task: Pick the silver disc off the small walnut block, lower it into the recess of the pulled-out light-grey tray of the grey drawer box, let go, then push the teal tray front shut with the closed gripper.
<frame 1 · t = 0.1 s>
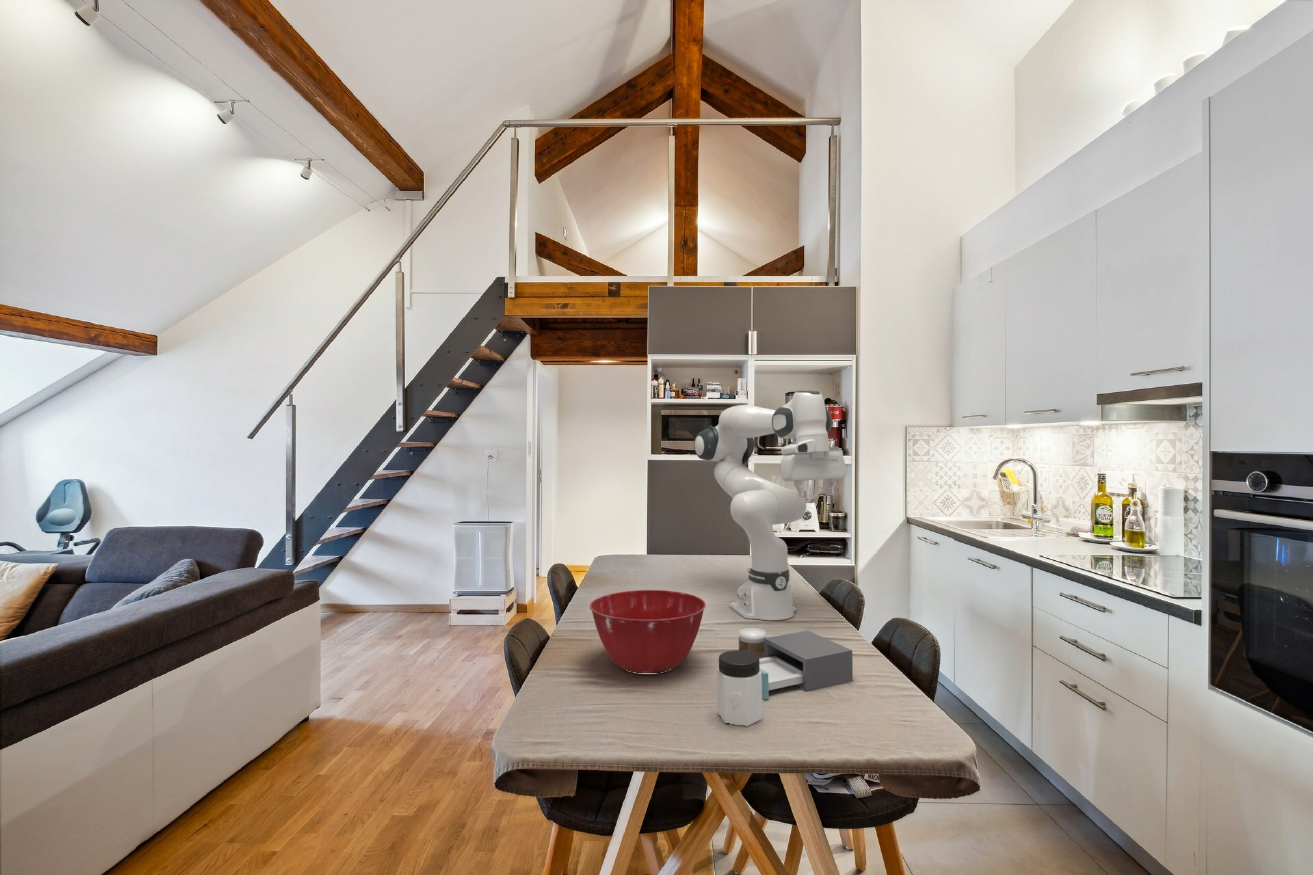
hand: (816, 496, 174), 39 cm above the table, tool pointing down, fingers open, 8 cm apart
mixing bowl: (649, 665, 154), on the table
disc: (752, 638, 157), point 5 cm above the table, touching walnut block
grey drawer box: (807, 673, 147), on the table
jar: (739, 717, 125), on the table
walnut block: (752, 658, 157), on the table
tray: (768, 669, 142), point 3 cm above the table, slide at 9.5 cm
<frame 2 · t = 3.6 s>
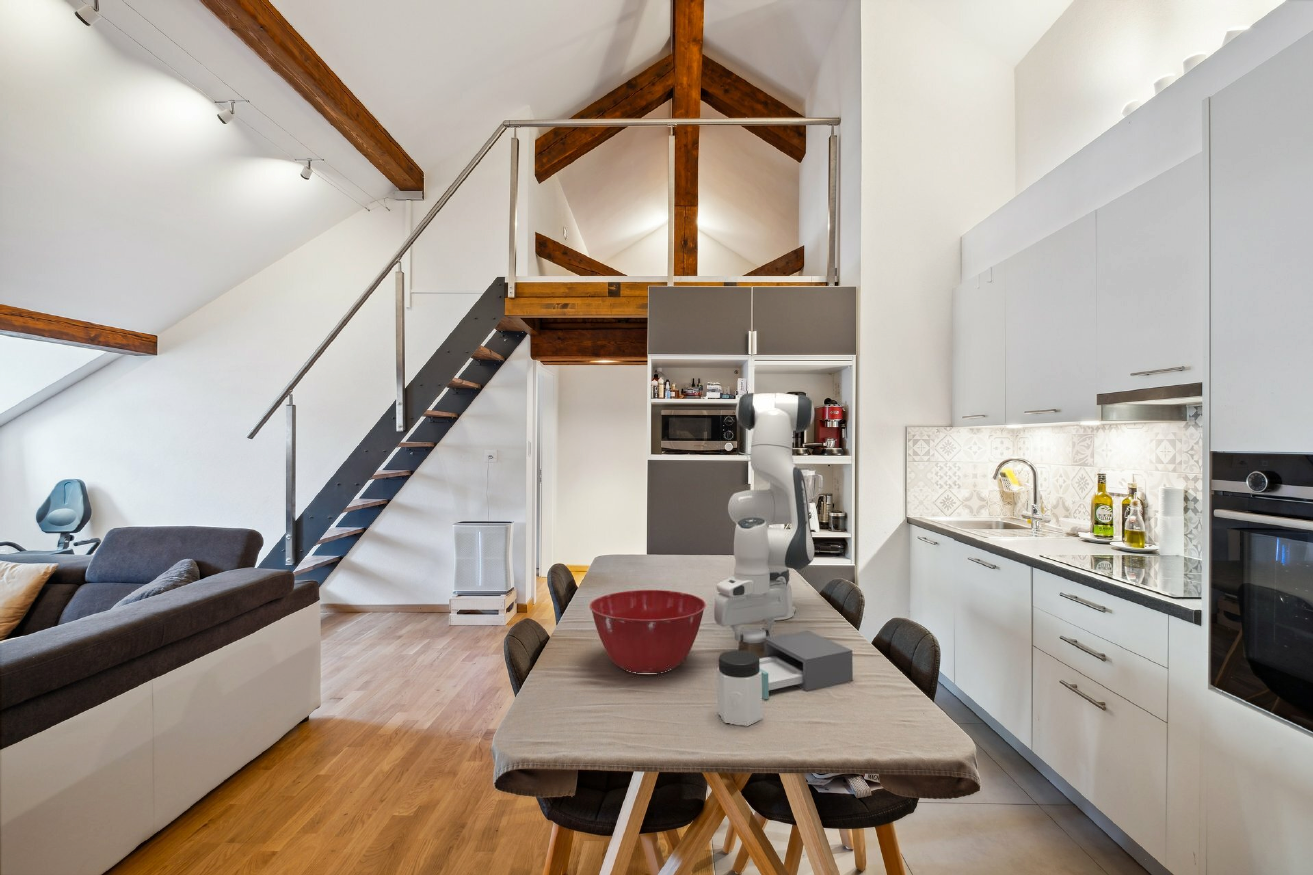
hand: (752, 638, 157), 5 cm above the table, tool pointing down, fingers closed on disc, 7 cm apart
disc: (752, 638, 157), point 5 cm above the table, touching gripper, walnut block
everything else where it was.
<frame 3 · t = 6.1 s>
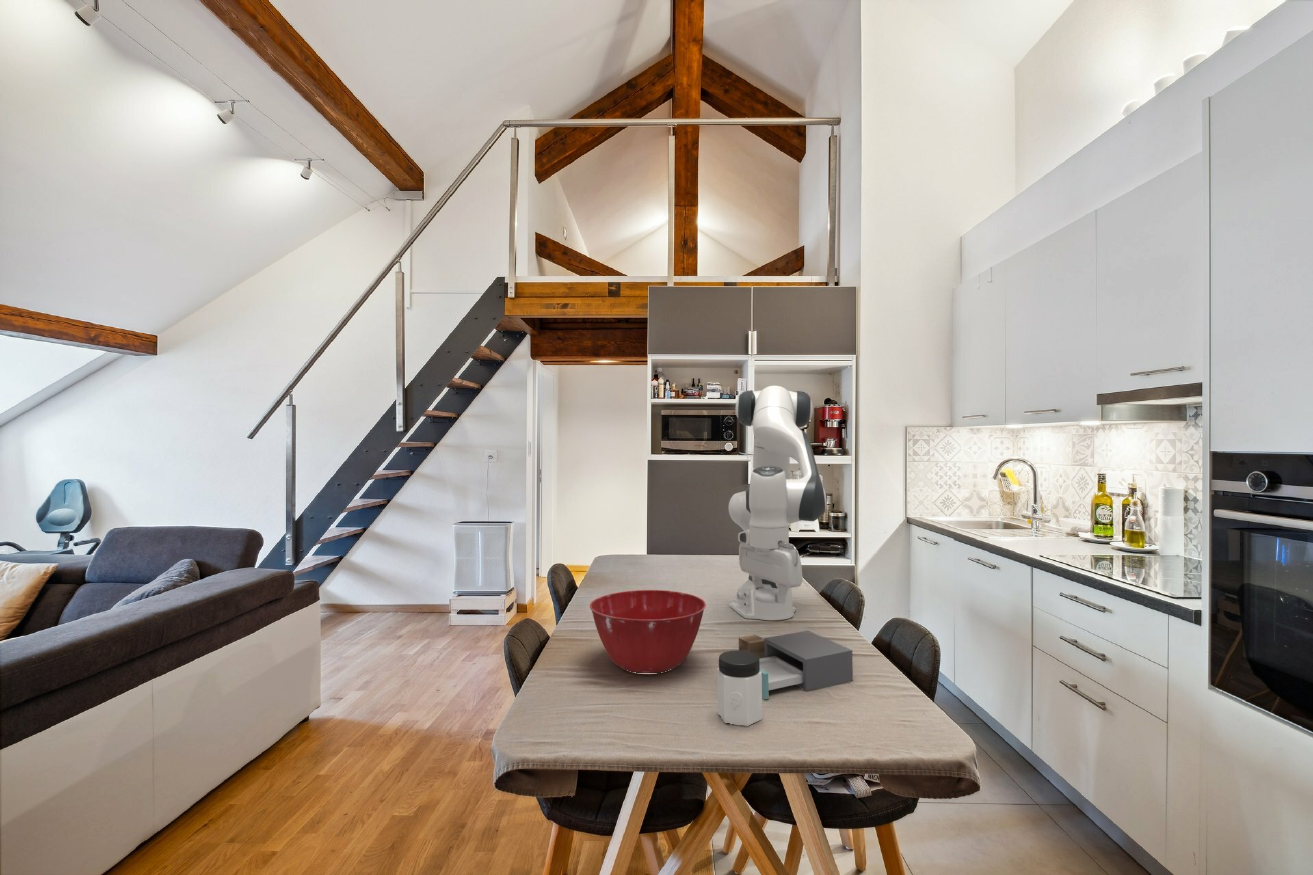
hand: (769, 598, 142), 19 cm above the table, tool pointing down, fingers closed on disc, 7 cm apart
disc: (769, 599, 142), point 19 cm above the table, touching gripper
everything else where it was.
when the fingers open (4 cm above the table, at t = 8.9 s): disc drops 2 cm, resting on tray.
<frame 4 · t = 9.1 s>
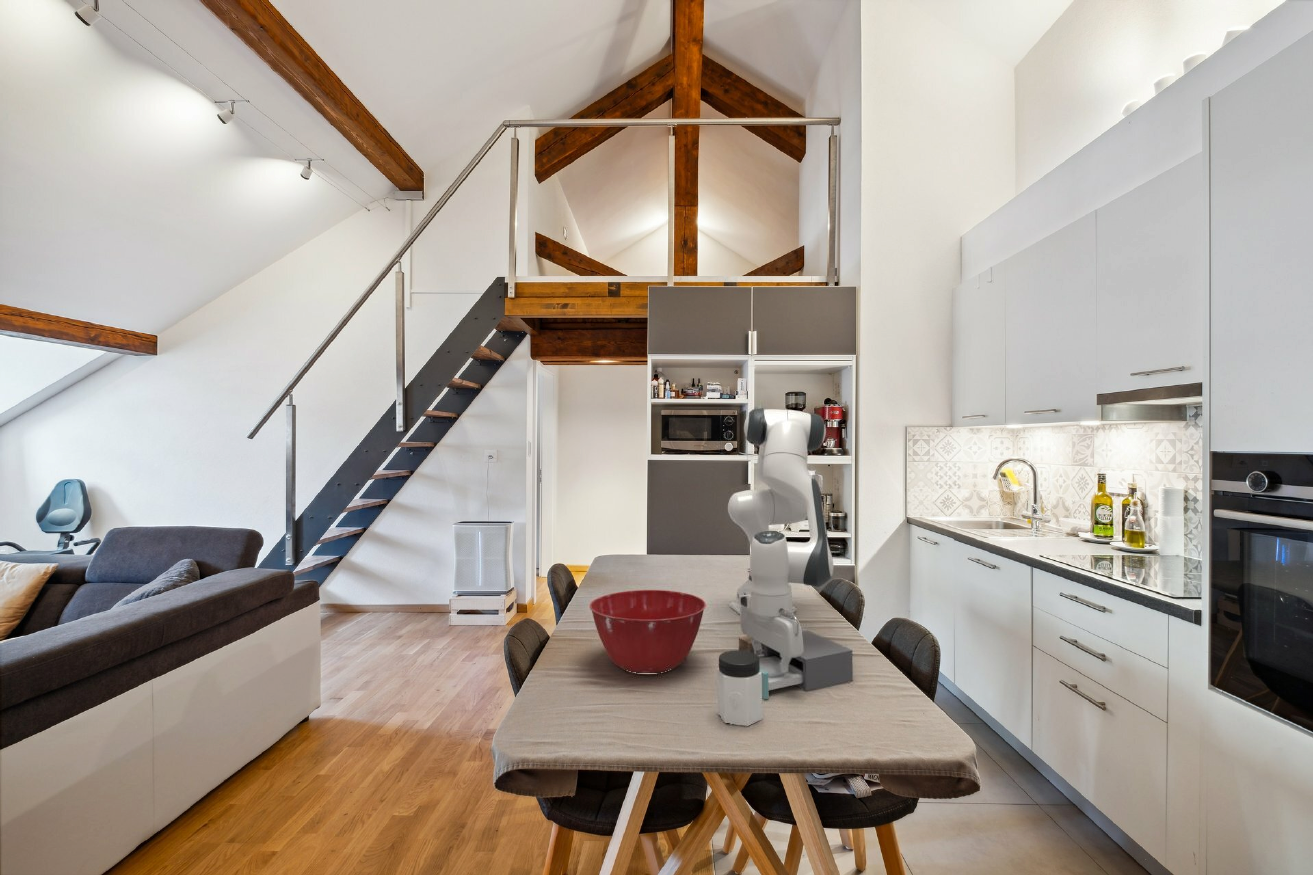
hand: (770, 664, 142), 4 cm above the table, tool pointing down, fingers open, 8 cm apart
disc: (770, 672, 143), point 2 cm above the table, touching tray
tray: (768, 669, 142), point 3 cm above the table, slide at 9.5 cm, touching disc
everything else where it was.
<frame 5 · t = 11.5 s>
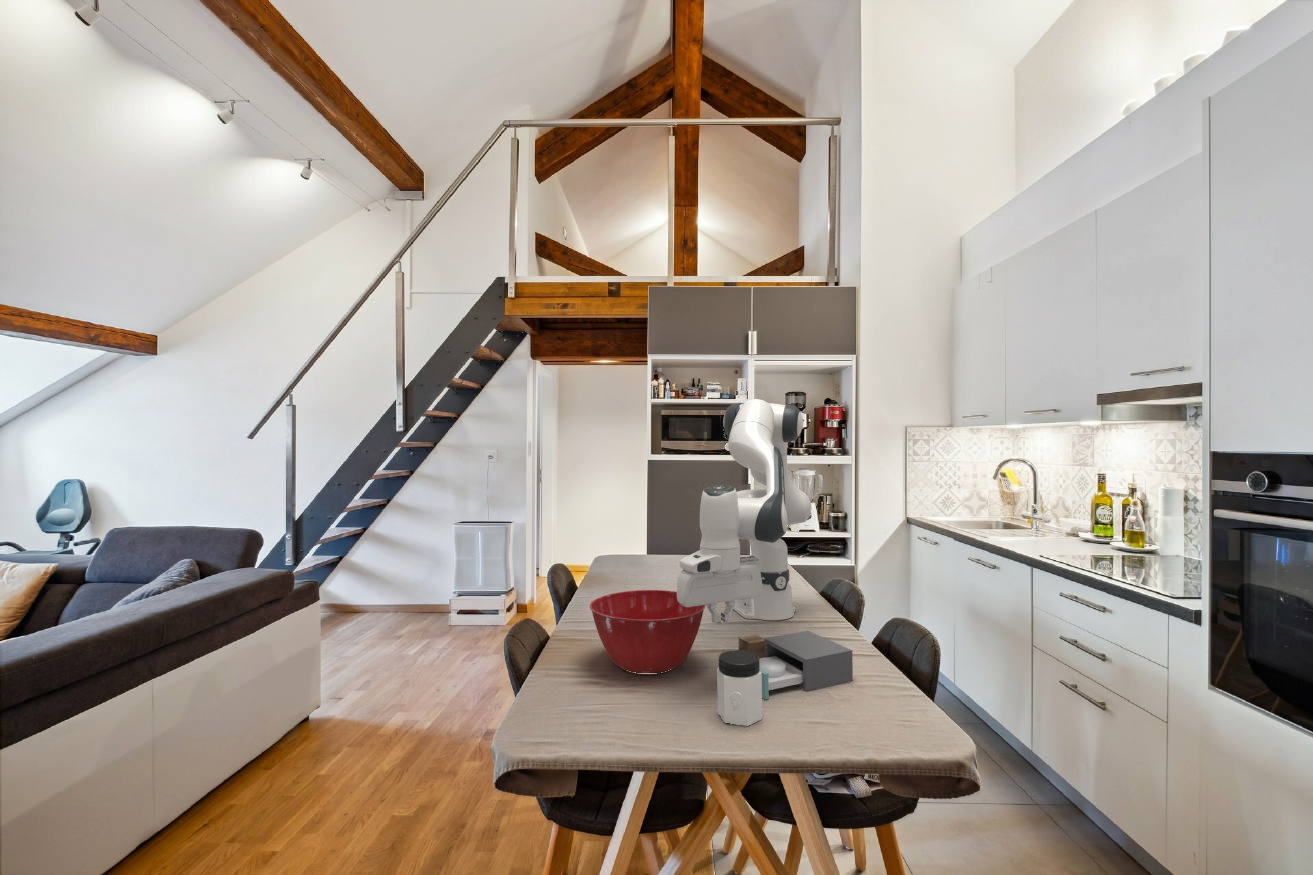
hand: (721, 621, 138), 15 cm above the table, tool pointing down, fingers closed
nothing on the table moved.
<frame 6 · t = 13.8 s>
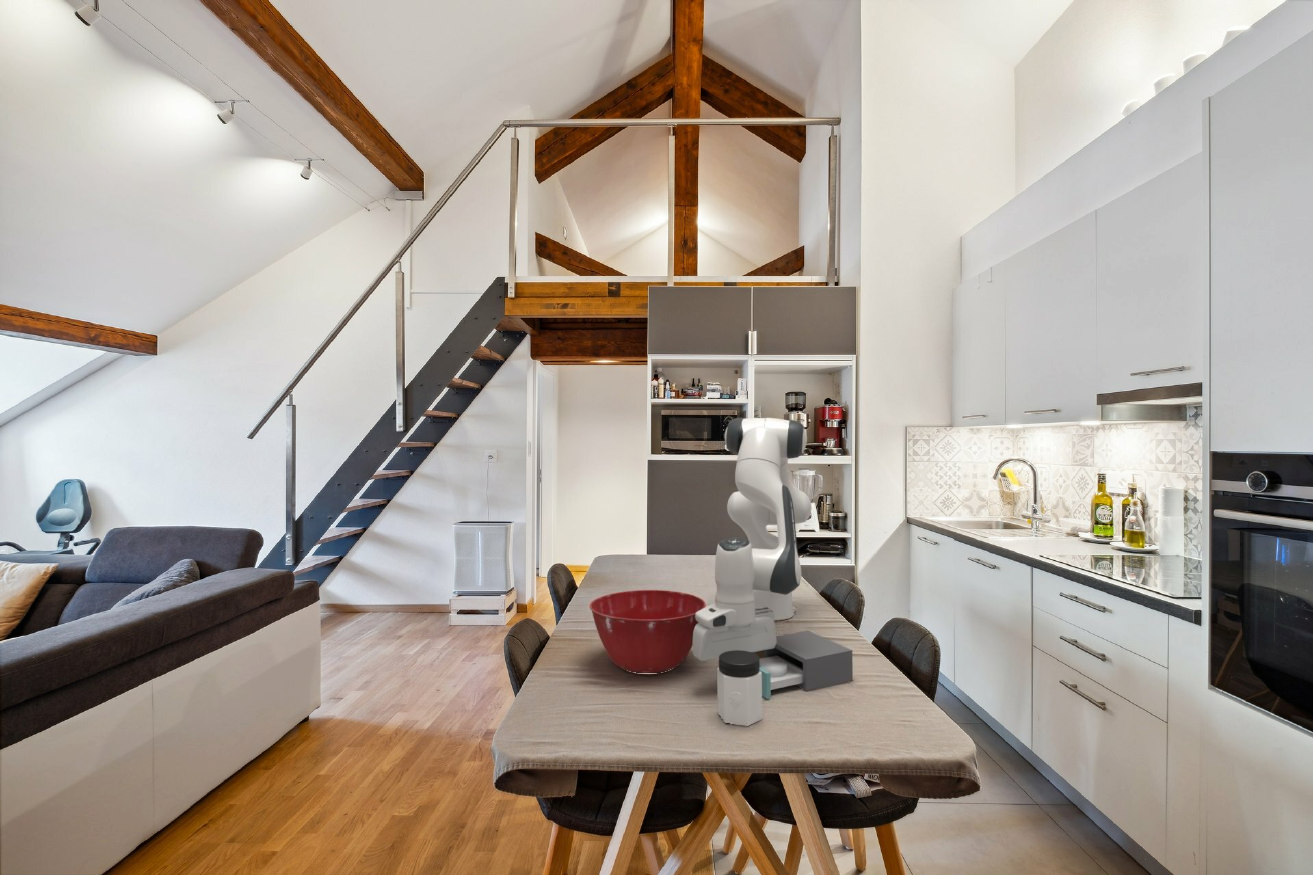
hand: (735, 673, 140), 3 cm above the table, tool pointing down, fingers closed
tray: (770, 668, 142), point 3 cm above the table, slide at 9.0 cm, touching disc, gripper
everything else where it was.
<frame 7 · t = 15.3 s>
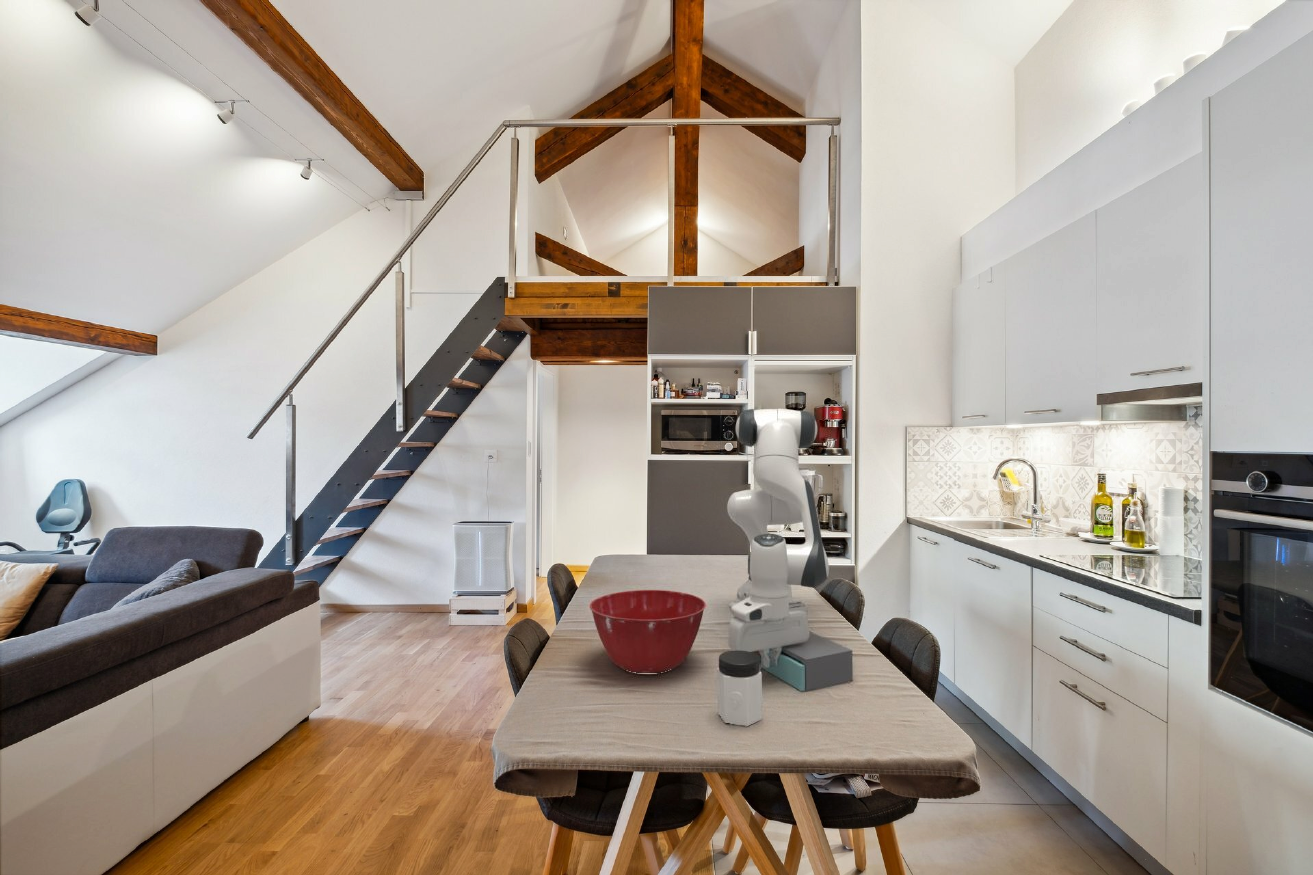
hand: (770, 665, 144), 3 cm above the table, tool pointing down, fingers closed
disc: (804, 665, 146), point 2 cm above the table, touching tray
tray: (802, 662, 146), point 3 cm above the table, slide at 0.0 cm, touching disc, gripper
everything else where it was.
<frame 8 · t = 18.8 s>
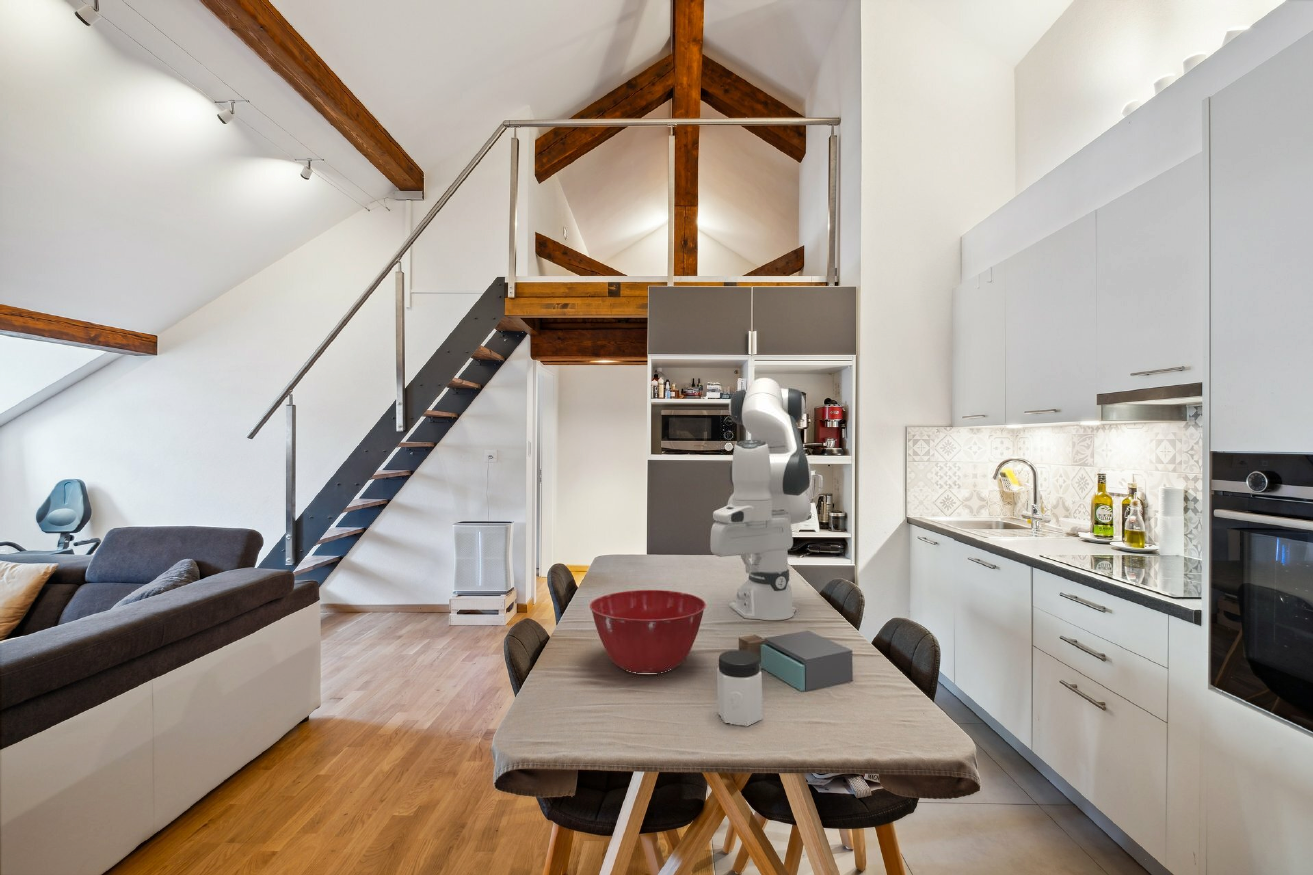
hand: (753, 572, 142), 25 cm above the table, tool pointing down, fingers closed
tray: (802, 662, 146), point 3 cm above the table, slide at 0.0 cm, touching disc
everything else where it was.
at the end: tray slide at 0.0 cm; disc inside the target area (0.7 cm from its centre), point 2.1 cm above the table; the gripper is holding nothing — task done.
